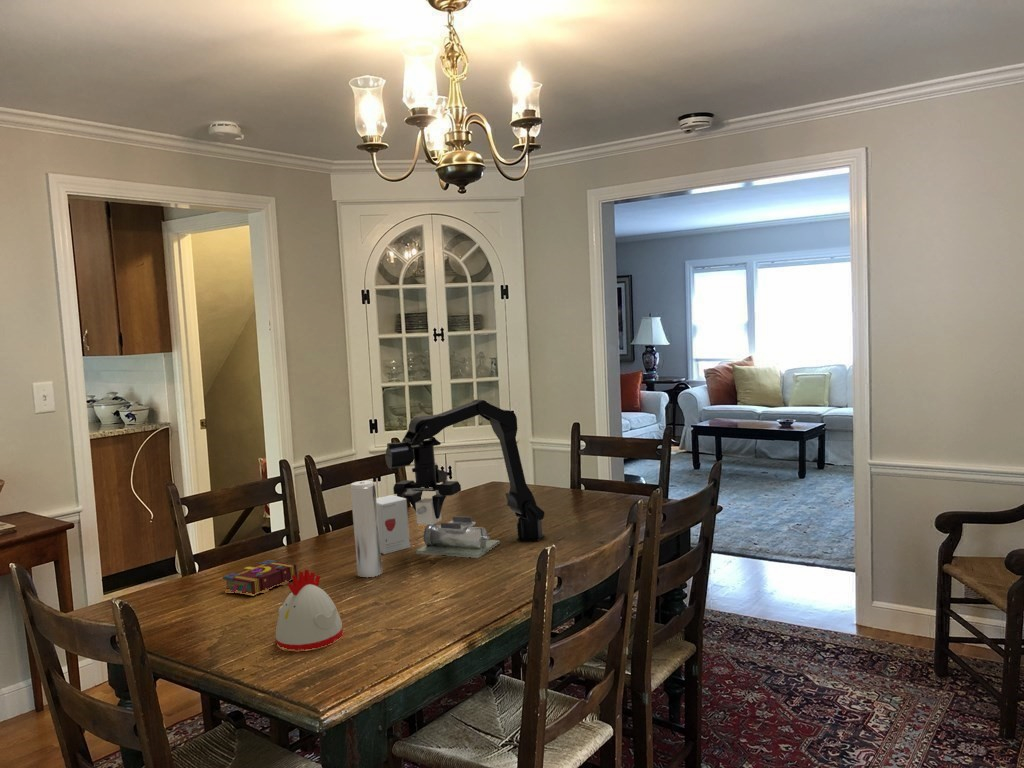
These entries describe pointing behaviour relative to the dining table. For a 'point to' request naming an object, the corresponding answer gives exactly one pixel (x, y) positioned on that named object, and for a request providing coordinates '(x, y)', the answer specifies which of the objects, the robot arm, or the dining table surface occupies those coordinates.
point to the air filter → (366, 529)
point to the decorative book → (260, 576)
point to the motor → (457, 539)
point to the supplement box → (392, 523)
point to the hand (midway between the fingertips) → (429, 518)
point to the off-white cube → (426, 512)
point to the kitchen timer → (307, 616)
